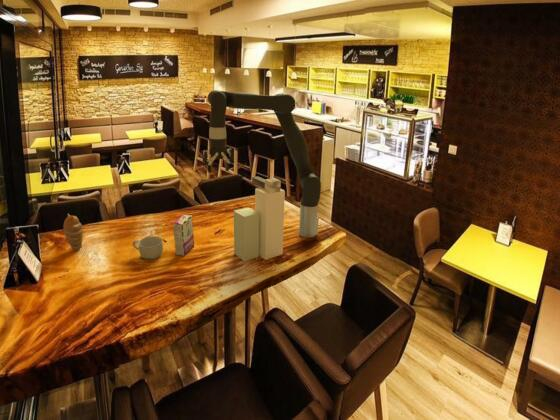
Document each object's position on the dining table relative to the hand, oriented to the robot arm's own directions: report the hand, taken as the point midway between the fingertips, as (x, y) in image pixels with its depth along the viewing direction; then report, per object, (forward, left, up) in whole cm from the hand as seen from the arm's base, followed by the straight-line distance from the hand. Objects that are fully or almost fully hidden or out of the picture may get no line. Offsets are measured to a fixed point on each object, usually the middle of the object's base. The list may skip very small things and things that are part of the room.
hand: (218, 171), depth 179 cm
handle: (-15, +17, -5) cm, 23 cm away
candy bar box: (+17, -3, -38) cm, 42 cm away
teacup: (+33, -7, -38) cm, 51 cm away
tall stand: (-15, +21, -37) cm, 45 cm away
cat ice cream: (+59, -31, -38) cm, 77 cm away
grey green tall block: (-5, +17, -37) cm, 41 cm away
